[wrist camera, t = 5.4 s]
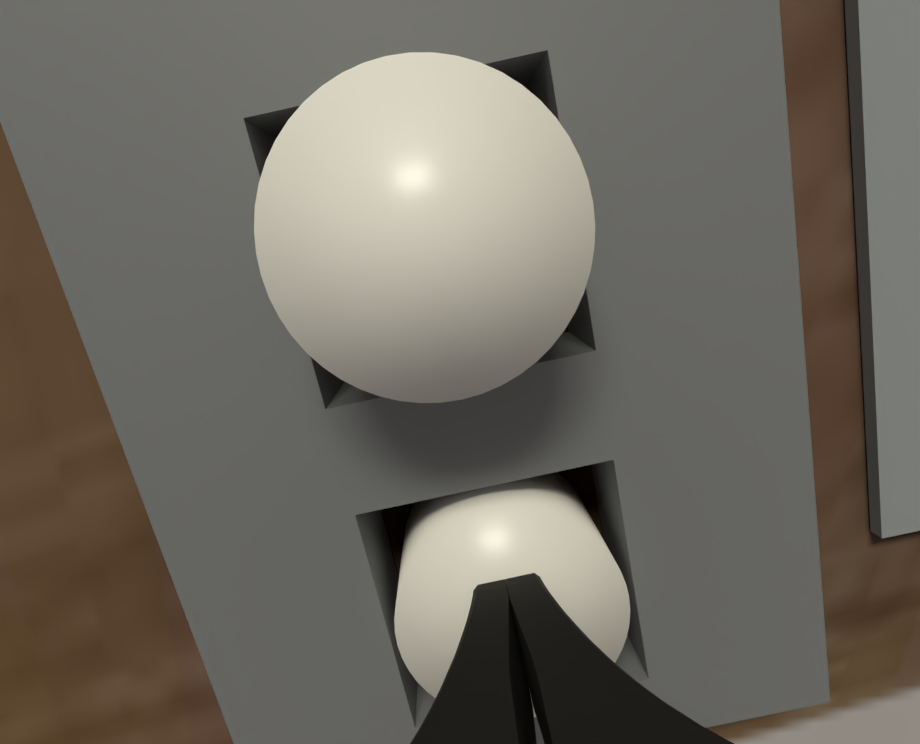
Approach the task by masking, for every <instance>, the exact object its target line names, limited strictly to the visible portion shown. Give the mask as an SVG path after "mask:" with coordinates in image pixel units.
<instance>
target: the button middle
mask: <svg viewBox="0 0 920 744" xmlns="http://www.w3.org/2000/svg"><path fill="white" fill-rule="evenodd" d="M254 237H255V248H256V256H257V260H258V265H259V269H260V273H261V277H262V280H263V283H264V285H265V288H266V291H267V294H268V297H269V299H270V301H271V303H272V305H273V307H274V309H275V310H276V312H277V314H278V316H279V318H280V320H281V321H282V322H283V324H284V325H285V327H286V328H287V330H288V331H289V333H290V334H291V336H292V337H293V338H294V339H295V340H296V341H297V343H298V344H299V345H300V346H301V347H302V348H303V349H304V351H305V352H306V353H307V354H308V355H310V356H311V357H312V358H313V359H314V360H315V361H316V362H317V363H319V364H320V365H321V366H322V367H323V368H325V369H326V370H328V371H329V372H331V373H332V374H334V375H335V376H336V377H338V378H339V379H341V380H343V381H345V382H347V383H349V384H351V385H353V386H355V387H356V388H358V389H361V390H363V391H366V392H369V393H372V394H374V395H377V396H380V397H384V398H389V399H393V400H397V401H404V402H414V403H443V402H449V401H456V400H462V399H466V398H469V397H473V396H476V395H480V394H483V393H485V392H488V391H490V390H492V389H495V388H497V387H499V386H502V385H503V384H505V383H507V382H508V381H510V380H512V379H514V378H515V377H517V376H519V375H520V374H522V373H523V372H524V371H525V370H527V369H528V368H529V367H531V366H532V365H533V364H535V363H536V362H537V361H538V360H539V359H540V358H541V357H542V356H543V355H544V354H545V353H546V352H547V351H548V350H549V349H550V348H551V347H552V346H553V344H554V343H555V342H556V341H557V339H558V338H559V337H560V336H561V334H562V333H563V332H564V330H565V329H566V327H567V325H568V324H569V322H570V320H571V319H572V317H573V315H574V314H575V312H576V310H577V308H578V305H579V303H580V301H581V298H582V296H583V294H584V292H585V288H586V285H587V281H588V278H589V275H590V271H591V266H592V260H593V254H594V247H595V217H594V205H593V199H592V195H591V190H590V186H589V181H588V178H587V175H586V172H585V169H584V167H583V164H582V161H581V158H580V156H579V154H578V152H577V150H576V148H575V147H574V145H573V143H572V141H571V139H570V137H569V135H568V134H567V133H566V131H565V130H564V128H563V127H562V125H561V124H560V122H559V121H558V119H557V118H556V117H555V116H554V115H553V114H552V112H551V111H550V110H549V109H548V108H547V107H546V106H545V105H544V104H543V103H542V101H541V100H540V99H538V98H537V97H536V96H535V95H534V94H532V93H531V92H530V91H529V90H528V89H526V88H525V87H524V86H523V85H522V84H520V83H518V82H517V81H515V80H514V79H512V78H510V77H509V76H507V75H506V74H504V73H503V72H501V71H498V70H496V69H494V68H492V67H489V66H487V65H485V64H483V63H481V62H477V61H474V60H470V59H467V58H464V57H460V56H456V55H449V54H442V53H435V52H409V53H402V54H395V55H389V56H384V57H381V58H377V59H374V60H371V61H367V62H364V63H362V64H359V65H357V66H355V67H353V68H351V69H349V70H347V71H344V72H342V73H340V74H339V75H337V76H336V77H334V78H333V79H331V80H330V81H328V82H327V83H325V84H324V85H322V86H321V87H320V88H319V89H317V90H316V91H315V92H314V93H313V94H312V95H311V96H310V97H308V98H307V99H306V100H305V101H304V102H303V103H302V104H301V105H300V107H299V108H298V109H297V110H296V111H295V112H294V114H293V115H292V116H291V117H290V118H289V119H288V121H287V122H286V124H285V126H284V127H283V129H282V130H281V132H280V133H279V135H278V137H277V138H276V140H275V142H274V144H273V146H272V148H271V150H270V153H269V155H268V157H267V159H266V161H265V164H264V168H263V171H262V174H261V178H260V181H259V184H258V190H257V196H256V202H255V212H254Z"/></svg>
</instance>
